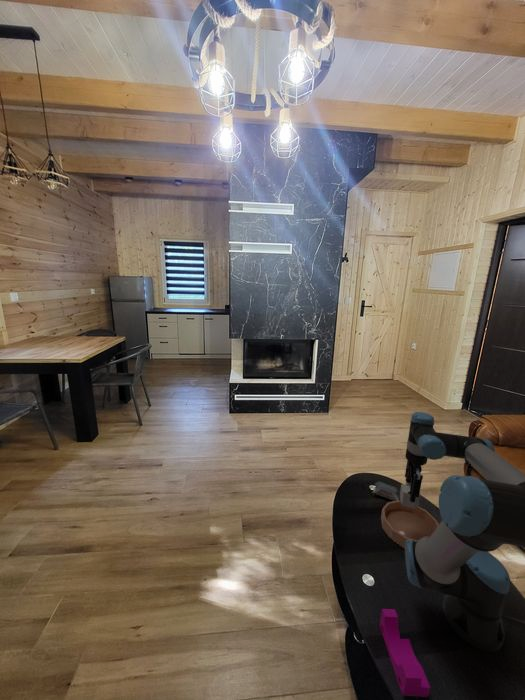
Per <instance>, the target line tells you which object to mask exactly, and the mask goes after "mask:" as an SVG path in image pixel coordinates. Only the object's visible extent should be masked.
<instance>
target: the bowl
mask: <svg viewBox="0 0 525 700" xmlns="http://www.w3.org/2000/svg"><path fill="white" fill-rule="evenodd" d="M381 509H382V510H381V516H380V520H381V526H382V529H383V531H384V532H385V534H386V535H387V536H388V537H389V539H390V538H391V539H392V540H393V541H392V540H391V539H390V540H391V541H392V542H394V543H395V542H396V543H395V544H397V545H398V544H399V546H400V547H402V548H403V549H404V550H405V542H406V540H414V541H417V542H418V541H419V540H420V539H421V538H423V537H426V536H431V534H432V533H433V532H434V530H435V529H436V528H437V526H438V525H439V524H440V523H439V522H438V520H437V519H436V518H435V517H434V516H433V515H432V514H430V513H429V512H428V511H427V510H426V509H425V508H422V507H420V506H419V508H410V507H407V506H402V504H401V500H399V501H393V500H392V501H388V502H387V503H385V505H384V506H383V507H382V508H381Z"/></svg>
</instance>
